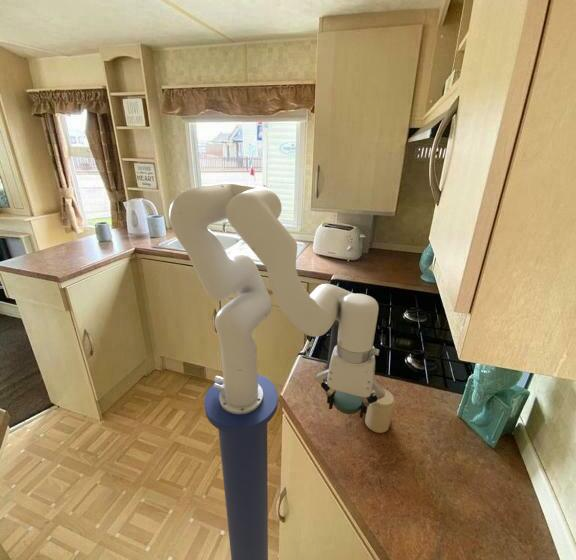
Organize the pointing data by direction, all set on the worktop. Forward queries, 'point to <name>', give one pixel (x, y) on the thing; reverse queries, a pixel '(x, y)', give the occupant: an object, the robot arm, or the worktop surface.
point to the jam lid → (347, 402)
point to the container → (333, 340)
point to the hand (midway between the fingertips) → (346, 408)
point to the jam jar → (380, 413)
